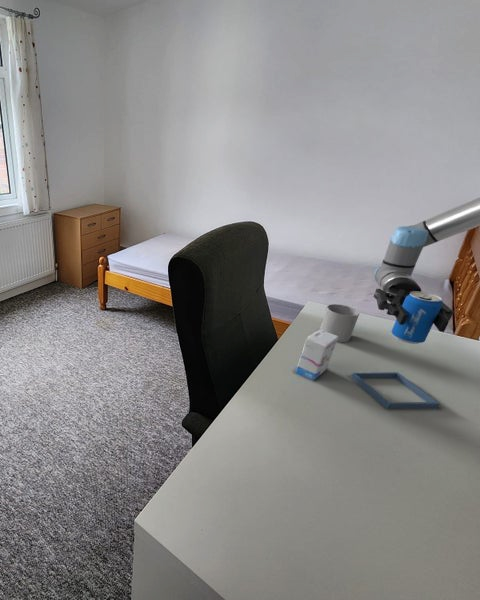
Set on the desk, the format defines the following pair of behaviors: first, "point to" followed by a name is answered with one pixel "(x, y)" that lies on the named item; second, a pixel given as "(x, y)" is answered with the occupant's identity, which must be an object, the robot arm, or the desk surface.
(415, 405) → the rectangular frame
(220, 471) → the desk surface
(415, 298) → the beverage can
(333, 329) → the cup
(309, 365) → the ink box
